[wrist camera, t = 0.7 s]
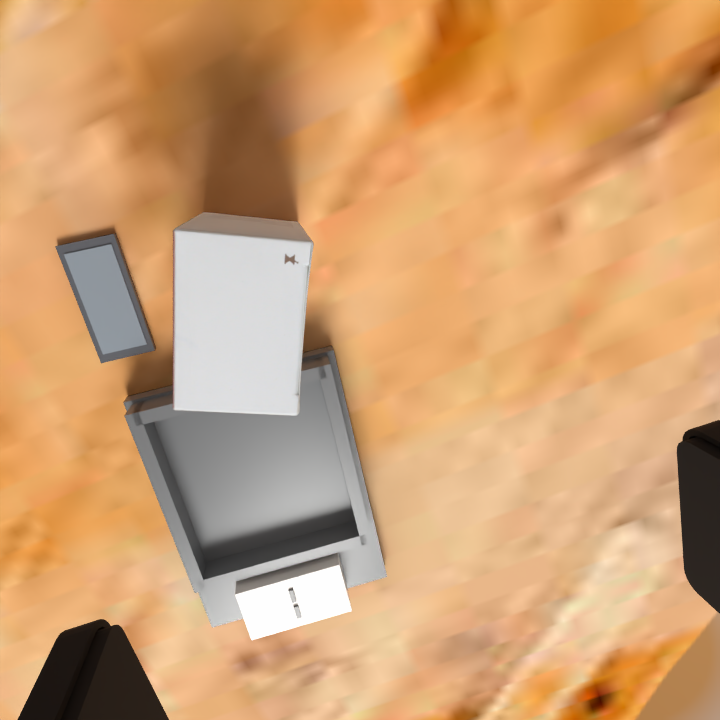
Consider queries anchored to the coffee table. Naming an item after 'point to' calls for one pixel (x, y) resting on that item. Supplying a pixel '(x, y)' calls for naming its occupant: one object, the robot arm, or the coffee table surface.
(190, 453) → the grey tray
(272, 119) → the coffee table surface
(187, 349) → the small box
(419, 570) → the coffee table surface
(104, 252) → the phone
